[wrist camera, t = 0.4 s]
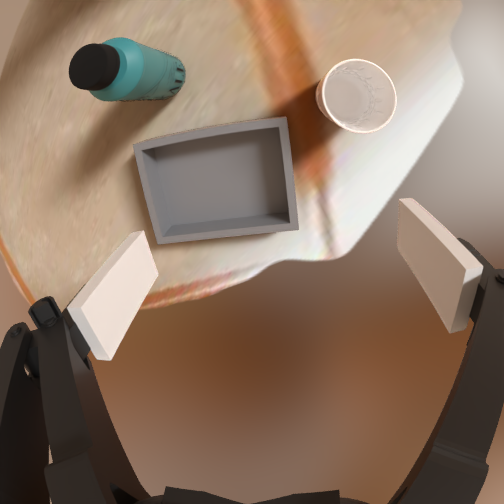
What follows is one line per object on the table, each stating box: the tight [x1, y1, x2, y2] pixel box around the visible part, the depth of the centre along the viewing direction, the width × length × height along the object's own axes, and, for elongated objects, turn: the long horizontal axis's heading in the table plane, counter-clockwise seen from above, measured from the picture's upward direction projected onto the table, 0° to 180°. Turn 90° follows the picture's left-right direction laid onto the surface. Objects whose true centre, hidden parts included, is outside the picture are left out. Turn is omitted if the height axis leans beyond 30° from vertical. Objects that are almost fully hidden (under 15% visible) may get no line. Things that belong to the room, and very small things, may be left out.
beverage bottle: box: [69, 38, 186, 102], centre depth 26 cm, size 6×7×20 cm
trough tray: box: [133, 116, 299, 244], centre depth 39 cm, size 14×19×5 cm
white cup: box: [316, 59, 396, 134], centre depth 30 cm, size 8×8×10 cm
